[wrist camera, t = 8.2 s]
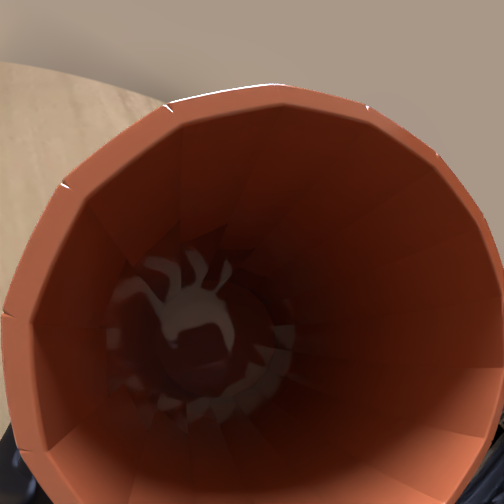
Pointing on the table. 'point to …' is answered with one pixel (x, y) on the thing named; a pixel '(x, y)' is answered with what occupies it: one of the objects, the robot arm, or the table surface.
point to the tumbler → (257, 313)
